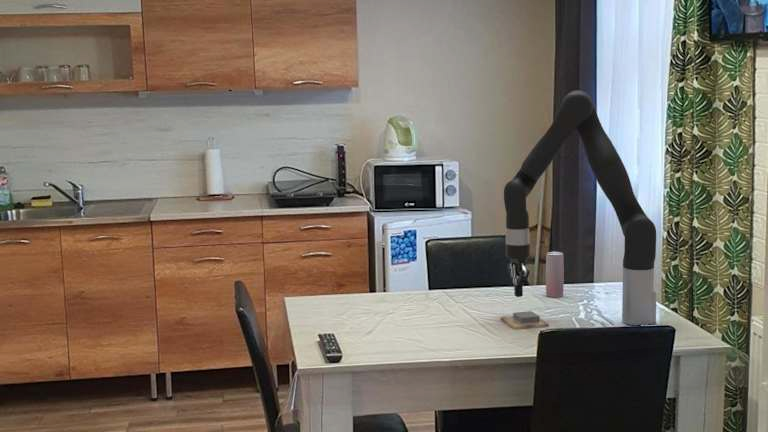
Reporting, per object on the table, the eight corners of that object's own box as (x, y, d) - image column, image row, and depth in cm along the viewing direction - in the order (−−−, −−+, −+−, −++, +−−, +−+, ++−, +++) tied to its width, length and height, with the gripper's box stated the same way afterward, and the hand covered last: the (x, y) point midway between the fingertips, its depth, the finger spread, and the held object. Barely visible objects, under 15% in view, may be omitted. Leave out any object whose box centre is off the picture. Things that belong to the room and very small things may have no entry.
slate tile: (531, 311, 295) (539, 316, 289) (531, 318, 295) (539, 323, 289) (513, 312, 294) (521, 317, 287) (513, 320, 294) (521, 325, 288)
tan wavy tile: (533, 316, 301) (533, 314, 300) (548, 326, 289) (548, 323, 289) (500, 319, 298) (500, 317, 298) (514, 329, 286) (515, 326, 286)
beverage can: (545, 293, 332) (545, 251, 330) (563, 293, 331) (563, 251, 329) (546, 297, 326) (546, 254, 324) (563, 297, 325) (564, 254, 323)
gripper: (537, 244, 291) (538, 299, 293) (520, 238, 303) (521, 290, 306) (514, 246, 289) (515, 301, 291) (498, 239, 302) (499, 292, 304)
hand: (518, 296), depth 299 cm, fingers closed
